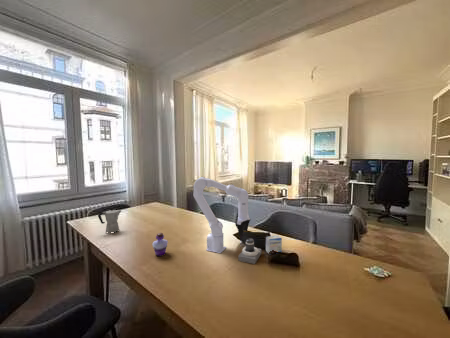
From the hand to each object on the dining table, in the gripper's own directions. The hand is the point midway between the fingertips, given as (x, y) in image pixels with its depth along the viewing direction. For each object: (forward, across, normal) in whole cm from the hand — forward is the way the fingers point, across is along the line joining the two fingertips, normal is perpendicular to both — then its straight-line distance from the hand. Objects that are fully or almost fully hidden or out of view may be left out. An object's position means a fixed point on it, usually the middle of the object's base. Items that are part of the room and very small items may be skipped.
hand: (243, 233), depth 123 cm
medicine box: (+10, +4, -17) cm, 20 cm away
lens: (+7, -7, -6) cm, 12 cm away
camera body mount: (+10, -7, -6) cm, 14 cm away
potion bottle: (+10, -24, +41) cm, 49 cm away
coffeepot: (+10, -11, +99) cm, 100 cm away
